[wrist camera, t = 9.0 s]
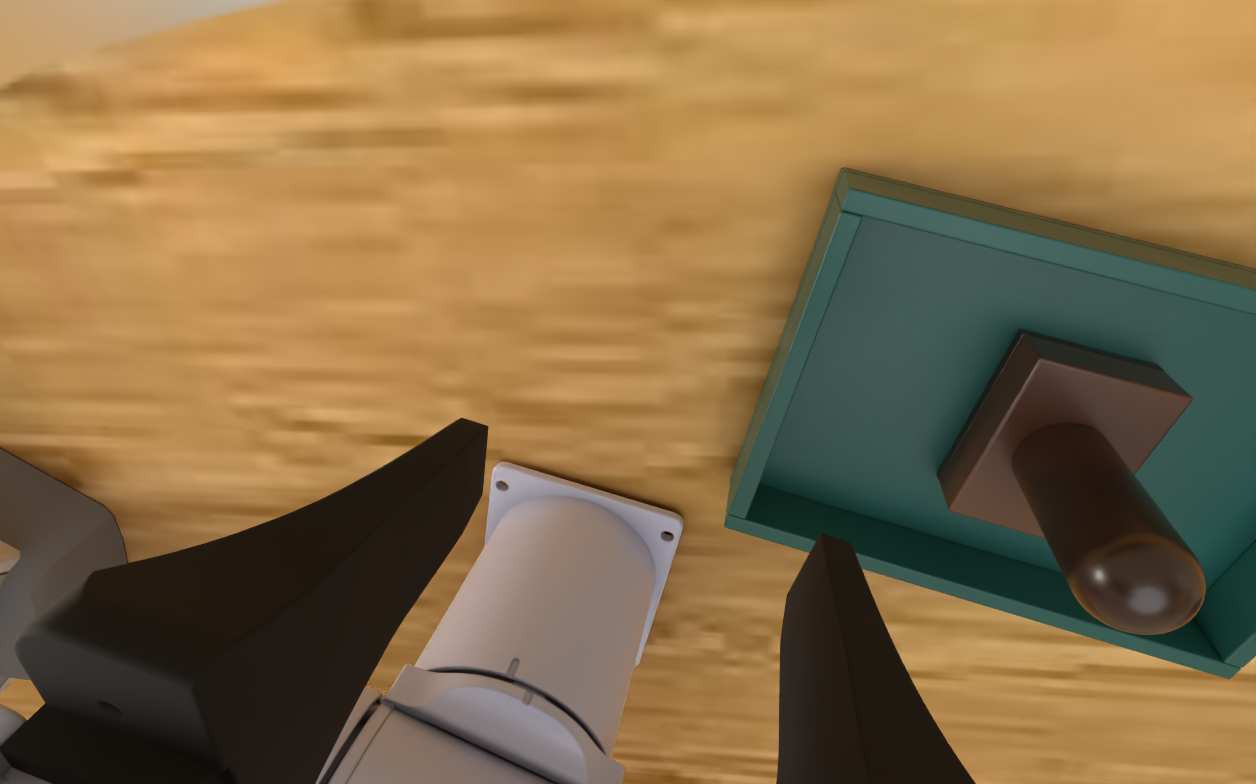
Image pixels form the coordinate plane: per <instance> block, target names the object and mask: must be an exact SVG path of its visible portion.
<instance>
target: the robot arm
mask: <svg viewBox="0 0 1256 784" xmlns="http://www.w3.org/2000/svg"><path fill="white" fill-rule="evenodd" d="M487 436H488V426H486V425H483V424H480V423H477V422H474V421H471V420H467V419H464V418H460V419H458V420H456V421H455V422H453V423H452V424H450V425H448V426H447V427H445V428H444V429H442V430H441V431H439V432H438V433H436V434H435V435H433V436H432V437H430V438H428V439H427V440H425V441H424V442H422V443H421V444H419V445H417V446H416V447H414V448H413V449H411V450H409V451H408V452H406V453H405V454H403V455H401V456H400V457H398V458H396V459H395V460H393V461H391V462H390V463H388V464H386V465H384V466H383V467H381V468H379V469H378V470H376V471H374V472H372V473H371V474H369V475H367V476H365V477H363V478H361V479H359V480H358V481H356V482H354V483H352V484H350V485H348V486H346V487H344V488H343V489H341V490H339V491H337V492H335V493H333V494H331V495H329V496H327V497H325V498H323V499H320V500H318V501H316V502H314V503H312V504H310V505H307V506H305V507H303V508H301V509H298V510H296V511H294V512H291V513H289V514H287V515H284V516H281V517H279V518H276V519H274V520H271V521H268V522H266V523H263V524H260V525H258V526H255V527H252V528H249V529H247V530H244V531H241V532H239V533H236V534H233V535H230V536H227V537H224V538H220V539H217V540H214V541H211V542H208V543H204V544H201V545H197V546H194V547H191V548H187V549H184V550H180V551H177V552H173V553H169V554H165V555H161V556H157V557H153V558H149V559H145V560H140V561H136V562H132V563H127V564H123V565H119V566H115V567H110V568H106V569H101V570H96V571H93V572H92V573H91V574H89V575H88V576H87V577H85V578H84V579H83V580H82V581H80V582H79V583H78V584H76V585H75V586H74V587H73V588H71V589H70V590H69V591H68V592H67V593H65V594H64V595H63V596H62V597H61V598H59V599H58V600H57V601H56V602H55V603H53V604H52V605H51V606H50V607H49V608H48V609H46V610H45V611H44V612H43V613H42V614H40V615H39V616H38V617H37V618H36V619H34V620H33V621H32V622H31V623H30V624H28V625H27V626H26V627H25V628H24V629H23V630H21V631H20V632H19V634H18V635H17V636H16V639H15V653H16V655H17V657H18V659H19V661H20V663H21V665H22V666H23V668H24V670H25V671H26V673H27V674H28V676H29V677H30V679H31V681H32V682H33V684H34V685H35V687H36V689H37V690H38V692H39V693H40V695H41V696H42V698H43V700H44V701H45V704H44V705H43V706H42V707H41V708H40V709H39V710H38V711H37V712H36V713H35V714H34V715H33V716H32V717H31V718H29V719H28V720H26V719H25V718H24V717H23V716H22V715H20V714H19V713H17V712H16V711H14V710H12V709H10V708H8V707H6V706H4V705H2V704H0V784H622V782H623V777H624V773H625V767H624V766H623V765H621V764H619V763H617V762H615V761H614V760H612V755H613V751H614V747H615V743H616V739H617V735H618V731H619V727H620V723H621V719H622V715H623V711H624V707H625V703H626V699H627V695H628V691H629V687H630V682H631V678H632V674H633V670H634V667H635V666H637V665H638V664H639V663H640V660H641V656H642V653H643V650H644V647H645V644H646V641H647V638H648V635H649V632H650V629H651V626H652V623H653V619H654V616H655V613H656V610H657V607H658V604H659V601H660V598H661V595H662V592H663V589H664V586H665V582H666V579H667V576H668V573H669V570H670V567H671V564H672V561H673V558H674V555H675V552H676V549H677V546H678V542H679V539H680V536H681V533H682V530H683V525H684V521H683V519H682V517H681V516H680V515H679V514H677V513H674V512H671V511H668V510H665V509H661V508H658V507H655V506H651V505H648V504H645V503H641V502H638V501H635V500H631V499H628V498H625V497H621V496H618V495H615V494H611V493H608V492H605V491H602V490H598V489H595V488H592V487H588V486H585V485H582V484H578V483H575V482H572V481H568V480H565V479H562V478H558V477H555V476H552V475H548V474H545V473H542V472H539V471H535V470H532V469H529V468H525V467H522V466H519V465H515V464H512V463H509V462H499V463H498V464H497V465H496V466H495V467H494V469H493V471H492V478H491V488H490V497H489V506H488V516H487V525H486V535H485V544H484V549H483V550H482V552H481V554H480V555H479V557H478V559H477V560H476V562H475V564H474V566H473V567H472V569H471V571H470V572H469V574H468V576H467V577H466V579H465V581H464V582H463V584H462V586H461V588H460V589H459V591H458V593H457V594H456V596H455V598H454V599H453V601H452V603H451V604H450V606H449V608H448V610H447V611H446V613H445V615H444V616H443V618H442V620H441V621H440V623H439V625H438V627H437V628H436V630H435V632H434V633H433V635H432V637H431V638H430V640H429V642H428V643H427V645H426V647H425V649H424V650H423V652H422V654H421V655H420V657H419V659H418V660H417V662H416V664H415V665H414V666H412V665H410V664H405V665H404V666H403V668H402V670H401V671H400V673H399V675H398V676H397V678H396V680H395V681H394V683H393V685H392V686H391V688H390V690H389V691H388V693H387V695H386V696H385V698H384V699H383V694H382V693H381V692H379V691H377V690H375V689H373V688H371V687H365V686H366V684H367V682H368V680H369V679H370V677H371V675H372V673H373V671H374V669H375V668H376V666H377V664H378V662H379V660H380V659H381V657H382V655H383V653H384V651H385V650H386V648H387V646H388V644H389V642H390V641H391V639H392V637H393V635H394V634H395V632H396V631H397V629H398V627H399V626H400V624H401V623H402V621H403V619H404V618H405V616H406V615H407V614H408V612H409V611H410V609H411V608H412V606H413V605H414V603H415V602H416V600H417V599H418V598H419V596H420V595H421V593H422V592H423V590H424V589H425V587H426V586H427V585H428V583H429V582H430V580H431V579H432V577H433V576H434V574H435V573H436V572H437V570H438V569H439V567H440V566H441V564H442V563H443V561H444V560H445V558H446V557H447V556H448V554H449V553H450V551H451V550H452V548H453V547H454V545H455V544H456V542H457V541H458V539H459V538H460V536H461V535H462V533H463V531H464V529H465V527H466V526H467V524H468V522H469V520H470V518H471V516H472V514H473V512H474V510H475V508H476V506H477V504H478V502H479V500H480V498H481V496H482V494H483V482H484V471H485V459H486V448H487ZM501 481H504V482H505V483H506V484H507V485H504V484H502V483H501ZM665 531H667V532H670V533H672V535H667V534H665V533H664V532H665ZM382 701H383V702H382ZM776 784H976V783H975V782H974V781H973V779H972V778H971V776H970V775H969V773H968V772H967V771H966V769H965V768H964V766H963V765H962V764H961V762H960V760H959V759H958V757H957V756H956V754H955V753H954V751H953V750H952V748H951V747H950V745H949V744H948V742H947V741H946V739H945V737H944V736H943V734H942V732H941V731H940V729H939V727H938V726H937V724H936V722H935V721H934V719H933V718H932V716H931V714H930V713H929V711H928V709H927V707H926V706H925V704H924V702H923V700H922V698H921V697H920V695H919V693H918V691H917V689H916V687H915V685H914V683H913V682H912V680H911V678H910V676H909V674H908V672H907V670H906V668H905V666H904V664H903V662H902V660H901V658H900V656H899V654H898V652H897V650H896V648H895V646H894V643H893V641H892V639H891V637H890V635H889V633H888V630H887V628H886V626H885V624H884V622H883V619H882V617H881V615H880V613H879V610H878V608H877V606H876V603H875V601H874V598H873V596H872V594H871V591H870V589H869V586H868V584H867V581H866V579H865V576H864V574H863V571H862V569H861V566H860V563H859V561H858V558H857V556H856V553H855V551H854V548H853V546H852V544H851V542H848V541H845V540H842V539H839V538H836V537H833V536H829V535H826V534H823V533H820V535H819V537H818V539H817V541H816V542H815V544H814V546H813V548H812V550H811V552H810V554H809V555H808V557H807V559H806V561H805V563H804V565H803V567H802V568H801V570H800V572H799V574H798V576H797V578H796V579H795V581H794V583H793V585H792V587H791V589H790V591H789V592H788V594H787V598H786V605H785V612H784V619H783V626H782V634H781V642H780V694H779V756H778V774H777V783H776Z"/></svg>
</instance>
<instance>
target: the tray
mask: <svg viewBox="0 0 1256 784" xmlns="http://www.w3.org/2000/svg"><path fill="white" fill-rule="evenodd" d="M1019 329H1024V330H1028V331H1031V332H1035V333H1039V334H1043V335H1047V336H1051V337H1054V338H1058V339H1062V340H1066V341H1070V342H1073V343H1077V344H1081V345H1085V346H1089V347H1092V348H1096V349H1100V350H1104V351H1108V352H1111V353H1115V354H1119V355H1123V356H1127V357H1130V358H1134V359H1138V360H1142V361H1146V362H1149V363H1153V364H1157V365H1159V366H1160V367H1161V368H1163V369H1164V370H1165V372H1166V373H1167V374H1168V375H1169V376H1170V377H1171V378H1172V379H1173V380H1174V381H1175V382H1177V383H1178V384H1179V385H1180V386H1181V387H1182V388H1183V389H1184V390H1185V391H1186V392H1187V393H1188V394H1189V395H1190V396H1192V397H1193V400H1192V402H1191V403H1190V404H1189V406H1188V407H1187V408H1186V409H1185V411H1184V412H1183V413H1182V415H1181V416H1180V417H1179V418H1178V420H1177V421H1176V422H1175V424H1174V425H1173V426H1172V427H1171V429H1170V430H1169V431H1168V433H1167V434H1166V435H1165V436H1164V438H1163V439H1162V440H1161V441H1160V443H1159V444H1158V445H1157V447H1156V448H1155V449H1154V450H1153V452H1152V453H1151V454H1150V456H1149V457H1148V458H1147V459H1146V461H1145V462H1144V463H1143V465H1142V466H1141V467H1140V468H1139V470H1138V471H1137V472H1136V474H1135V477H1136V478H1137V479H1138V480H1139V482H1140V483H1141V484H1142V486H1143V487H1144V488H1145V490H1146V491H1147V492H1148V494H1149V495H1150V496H1151V498H1152V499H1153V500H1154V502H1155V503H1156V504H1157V506H1158V507H1159V508H1160V510H1161V511H1162V512H1163V513H1164V515H1165V516H1166V517H1167V519H1168V520H1169V521H1170V523H1171V524H1172V525H1173V527H1174V528H1175V529H1176V531H1177V532H1178V533H1179V535H1180V536H1181V537H1182V539H1183V540H1184V541H1185V543H1186V544H1187V545H1188V546H1189V548H1190V549H1191V550H1192V552H1193V553H1194V554H1195V556H1196V557H1197V559H1198V561H1199V563H1200V564H1201V567H1202V569H1203V572H1204V576H1205V581H1206V593H1205V598H1204V601H1203V604H1202V606H1201V608H1200V610H1199V611H1198V613H1197V614H1196V615H1195V616H1194V617H1193V619H1191V620H1190V621H1189V622H1188V623H1186V624H1185V625H1183V626H1181V627H1180V628H1178V629H1175V630H1173V631H1170V632H1166V633H1162V634H1154V635H1141V634H1133V633H1128V632H1124V631H1120V630H1118V629H1115V628H1113V627H1110V626H1108V625H1106V624H1104V623H1102V622H1101V621H1099V620H1098V619H1096V618H1095V617H1093V616H1092V615H1091V614H1090V613H1089V612H1087V611H1086V610H1085V609H1084V608H1083V607H1082V605H1081V604H1080V603H1079V602H1078V601H1077V599H1076V598H1075V596H1074V594H1073V593H1072V591H1071V589H1070V587H1069V585H1068V583H1067V581H1066V579H1065V577H1064V575H1063V573H1062V571H1061V569H1060V567H1059V565H1058V563H1057V561H1056V559H1055V557H1054V555H1053V553H1052V550H1051V548H1050V546H1049V544H1048V542H1047V540H1046V539H1044V538H1040V537H1037V536H1033V535H1030V534H1027V533H1023V532H1020V531H1016V530H1013V529H1009V528H1006V527H1002V526H999V525H996V524H992V523H989V522H985V521H982V520H978V519H975V518H971V517H968V516H965V515H961V514H958V513H954V512H951V511H949V510H948V507H947V504H946V501H945V498H944V495H943V492H942V489H941V485H940V481H939V480H938V478H937V475H936V474H937V472H938V470H939V469H940V467H941V465H942V463H943V462H944V460H945V458H946V456H947V454H948V453H949V451H950V449H951V447H952V446H953V444H954V442H955V440H956V439H957V437H958V435H959V433H960V432H961V430H962V428H963V426H964V425H965V423H966V421H967V419H968V418H969V416H970V414H971V412H972V411H973V409H974V407H975V405H976V404H977V402H978V400H979V398H980V397H981V395H982V393H983V391H984V390H985V388H986V386H987V384H988V383H989V381H990V379H991V377H992V376H993V374H994V372H995V370H996V369H997V367H998V365H999V363H1000V362H1001V360H1002V358H1003V356H1004V355H1005V353H1006V351H1007V349H1008V348H1009V346H1010V344H1011V342H1012V341H1013V339H1014V337H1015V335H1016V334H1017V332H1018V330H1019ZM724 526H725V527H726V528H729V529H732V530H736V531H739V532H742V533H746V534H749V535H752V536H756V537H759V538H762V539H765V540H769V541H772V542H775V543H779V544H782V545H785V546H789V547H792V548H795V549H799V550H802V551H805V552H809V553H810V552H811V550H812V548H813V546H814V544H815V542H816V541H817V539H818V537H819V535H820V533H823V534H826V535H829V536H833V537H836V538H839V539H842V540H845V541H848V542H851V544H852V546H853V548H854V551H855V553H856V556H857V558H858V561H859V563H860V566H861V568H862V569H865V570H868V571H872V572H875V573H878V574H882V575H885V576H888V577H892V578H895V579H898V580H902V581H905V582H908V583H911V584H915V585H918V586H921V587H925V588H928V589H931V590H935V591H938V592H941V593H945V594H948V595H951V596H955V597H958V598H961V599H965V600H968V601H971V602H974V603H978V604H981V605H984V606H988V607H991V608H994V609H998V610H1001V611H1004V612H1008V613H1011V614H1014V615H1018V616H1021V617H1024V618H1028V619H1031V620H1034V621H1038V622H1041V623H1044V624H1047V625H1051V626H1054V627H1057V628H1061V629H1064V630H1067V631H1071V632H1074V633H1077V634H1081V635H1084V636H1087V637H1091V638H1094V639H1097V640H1101V641H1104V642H1107V643H1111V644H1114V645H1117V646H1120V647H1124V648H1127V649H1130V650H1134V651H1137V652H1140V653H1144V654H1147V655H1150V656H1154V657H1157V658H1160V659H1164V660H1167V661H1170V662H1174V663H1177V664H1180V665H1184V666H1187V667H1190V668H1193V669H1197V670H1200V671H1203V672H1207V673H1210V674H1213V675H1217V676H1220V677H1223V678H1227V679H1230V678H1232V677H1233V676H1234V675H1235V674H1236V673H1237V672H1238V671H1239V670H1240V669H1241V668H1240V667H1244V666H1245V665H1246V664H1247V663H1248V662H1249V661H1251V660H1252V659H1253V658H1254V657H1255V656H1256V269H1253V268H1249V267H1245V266H1241V265H1237V264H1233V263H1229V262H1225V261H1221V260H1217V259H1213V258H1209V257H1205V256H1200V255H1196V254H1192V253H1188V252H1184V251H1180V250H1176V249H1172V248H1168V247H1164V246H1160V245H1156V244H1152V243H1148V242H1144V241H1140V240H1136V239H1132V238H1128V237H1124V236H1119V235H1115V234H1111V233H1107V232H1103V231H1099V230H1095V229H1091V228H1087V227H1083V226H1079V225H1075V224H1071V223H1067V222H1063V221H1059V220H1055V219H1051V218H1047V217H1043V216H1039V215H1034V214H1030V213H1026V212H1022V211H1018V210H1014V209H1010V208H1006V207H1002V206H998V205H994V204H990V203H986V202H982V201H978V200H974V199H970V198H966V197H962V196H958V195H954V194H949V193H945V192H941V191H937V190H933V189H929V188H925V187H921V186H917V185H913V184H909V183H905V182H901V181H897V180H893V179H889V178H885V177H881V176H877V175H873V174H869V173H864V172H860V171H856V170H852V169H848V168H842V169H841V171H840V174H839V177H838V180H837V182H836V185H835V188H834V191H833V194H832V196H831V199H830V202H829V205H828V208H827V210H826V213H825V216H824V219H823V222H822V224H821V227H820V230H819V233H818V236H817V238H816V241H815V244H814V247H813V250H812V252H811V255H810V258H809V261H808V264H807V266H806V269H805V272H804V275H803V278H802V280H801V283H800V286H799V289H798V292H797V294H796V297H795V300H794V303H793V306H792V308H791V311H790V314H789V317H788V320H787V322H786V325H785V328H784V331H783V333H782V336H781V339H780V342H779V345H778V347H777V350H776V353H775V356H774V359H773V361H772V364H771V367H770V370H769V373H768V375H767V378H766V381H765V384H764V387H763V389H762V392H761V395H760V398H759V401H758V403H757V406H756V409H755V412H754V415H753V417H752V420H751V423H750V426H749V429H748V431H747V434H746V437H745V440H744V443H743V445H742V448H741V451H740V454H739V457H738V459H737V462H736V465H735V468H734V471H733V473H732V476H731V479H730V488H729V494H728V501H727V508H726V516H725V523H724Z"/></svg>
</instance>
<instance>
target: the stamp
mask: <svg viewBox="0 0 1256 784" xmlns="http://www.w3.org/2000/svg"><path fill="white" fill-rule="evenodd" d="M1192 400H1193V397H1192V396H1190V395H1189V394H1188V393H1187V392H1186V391H1185V390H1184V389H1183V388H1182V387H1181V386H1180V385H1179V384H1178V383H1177V382H1175V381H1174V380H1173V379H1172V378H1171V377H1170V376H1169V375H1168V374H1167V373H1166V372H1165V370H1164V369H1163V368H1161V367H1160V366H1159V365H1157V364H1153V363H1149V362H1146V361H1142V360H1138V359H1134V358H1130V357H1127V356H1123V355H1119V354H1115V353H1111V352H1108V351H1104V350H1100V349H1096V348H1092V347H1089V346H1085V345H1081V344H1077V343H1073V342H1070V341H1066V340H1062V339H1058V338H1054V337H1051V336H1047V335H1043V334H1039V333H1035V332H1031V331H1028V330H1024V329H1019V330H1018V332H1017V334H1016V335H1015V337H1014V339H1013V341H1012V342H1011V344H1010V346H1009V348H1008V349H1007V351H1006V353H1005V355H1004V356H1003V358H1002V360H1001V362H1000V363H999V365H998V367H997V369H996V370H995V372H994V374H993V376H992V377H991V379H990V381H989V383H988V384H987V386H986V388H985V390H984V391H983V393H982V395H981V397H980V398H979V400H978V402H977V404H976V405H975V407H974V409H973V411H972V412H971V414H970V416H969V418H968V419H967V421H966V423H965V425H964V426H963V428H962V430H961V432H960V433H959V435H958V437H957V439H956V440H955V442H954V444H953V446H952V447H951V449H950V451H949V453H948V454H947V456H946V458H945V460H944V462H943V463H942V465H941V467H940V469H939V470H938V472H937V474H936V475H937V478H938V480H939V481H940V485H941V489H942V492H943V495H944V498H945V501H946V504H947V507H948V510H949V511H951V512H954V513H958V514H961V515H965V516H968V517H971V518H975V519H978V520H982V521H985V522H989V523H992V524H996V525H999V526H1002V527H1006V528H1009V529H1013V530H1016V531H1020V532H1023V533H1027V534H1030V535H1033V536H1037V537H1040V538H1044V539H1046V540H1047V542H1048V544H1049V546H1050V548H1051V550H1052V553H1053V555H1054V557H1055V559H1056V561H1057V563H1058V565H1059V567H1060V569H1061V571H1062V573H1063V575H1064V577H1065V579H1066V581H1067V583H1068V585H1069V587H1070V589H1071V591H1072V593H1073V594H1074V596H1075V598H1076V599H1077V601H1078V602H1079V603H1080V604H1081V605H1082V607H1083V608H1084V609H1085V610H1086V611H1087V612H1089V613H1090V614H1091V615H1092V616H1093V617H1095V618H1096V619H1098V620H1099V621H1101V622H1102V623H1104V624H1106V625H1108V626H1110V627H1113V628H1115V629H1118V630H1120V631H1124V632H1128V633H1133V634H1141V635H1154V634H1162V633H1166V632H1170V631H1173V630H1175V629H1178V628H1180V627H1181V626H1183V625H1185V624H1186V623H1188V622H1189V621H1190V620H1191V619H1193V617H1194V616H1195V615H1196V614H1197V613H1198V611H1199V610H1200V608H1201V606H1202V604H1203V601H1204V598H1205V593H1206V581H1205V576H1204V572H1203V569H1202V567H1201V564H1200V563H1199V561H1198V559H1197V557H1196V556H1195V554H1194V553H1193V552H1192V550H1191V549H1190V548H1189V546H1188V545H1187V544H1186V543H1185V541H1184V540H1183V539H1182V537H1181V536H1180V535H1179V533H1178V532H1177V531H1176V529H1175V528H1174V527H1173V525H1172V524H1171V523H1170V521H1169V520H1168V519H1167V517H1166V516H1165V515H1164V513H1163V512H1162V511H1161V510H1160V508H1159V507H1158V506H1157V504H1156V503H1155V502H1154V500H1153V499H1152V498H1151V496H1150V495H1149V494H1148V492H1147V491H1146V490H1145V488H1144V487H1143V486H1142V484H1141V483H1140V482H1139V480H1138V479H1137V478H1136V477H1135V474H1136V472H1137V471H1138V470H1139V468H1140V467H1141V466H1142V465H1143V463H1144V462H1145V461H1146V459H1147V458H1148V457H1149V456H1150V454H1151V453H1152V452H1153V450H1154V449H1155V448H1156V447H1157V445H1158V444H1159V443H1160V441H1161V440H1162V439H1163V438H1164V436H1165V435H1166V434H1167V433H1168V431H1169V430H1170V429H1171V427H1172V426H1173V425H1174V424H1175V422H1176V421H1177V420H1178V418H1179V417H1180V416H1181V415H1182V413H1183V412H1184V411H1185V409H1186V408H1187V407H1188V406H1189V404H1190V403H1191V402H1192Z"/></svg>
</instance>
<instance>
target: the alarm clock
mask: <svg viewBox="0 0 1256 784" xmlns="http://www.w3.org/2000/svg"><path fill="white" fill-rule="evenodd" d="M123 564H127V558H126V554H125V549H124V544H123V539H122V536H121V534H120V531H119V529H118V527H117V524H116V522H115V519H114V517H113V515H112V514H111V513H110V512H109V511H108V510H107V509H106V508H105V507H104V506H103V505H101V504H99V503H97V502H95V501H94V500H92V499H90V498H88V497H86V496H85V495H83V494H81V493H79V492H77V491H75V490H74V489H72V488H70V487H68V486H66V485H65V484H63V483H61V482H59V481H57V480H56V479H54V478H52V477H50V476H48V475H47V474H45V473H43V472H41V471H39V470H38V469H36V468H34V467H32V466H30V465H29V464H27V463H25V462H23V461H21V460H20V459H18V458H16V457H14V456H12V455H11V454H9V453H7V452H5V451H3V450H2V449H0V695H1V694H2V693H3V691H4V690H5V689H6V688H7V687H8V685H9V684H10V683H11V682H12V681H13V679H14V678H17V679H25V680H30V677H29V676H28V674H27V673H26V671H25V670H24V668H23V666H22V665H21V663H20V661H19V659H18V657H17V655H16V653H15V639H16V636H17V635H18V634H19V632H20V631H21V630H23V629H24V628H25V627H26V626H27V625H28V624H30V623H31V622H32V621H33V620H34V619H36V618H37V617H38V616H39V615H40V614H42V613H43V612H44V611H45V610H46V609H48V608H49V607H50V606H51V605H52V604H53V603H55V602H56V601H57V600H58V599H59V598H61V597H62V596H63V595H64V594H65V593H67V592H68V591H69V590H70V589H71V588H73V587H74V586H75V585H76V584H78V583H79V582H80V581H82V580H83V579H84V578H85V577H87V576H88V575H89V574H91V573H92V572H93V571H96V570H101V569H106V568H110V567H115V566H119V565H123Z"/></svg>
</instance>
